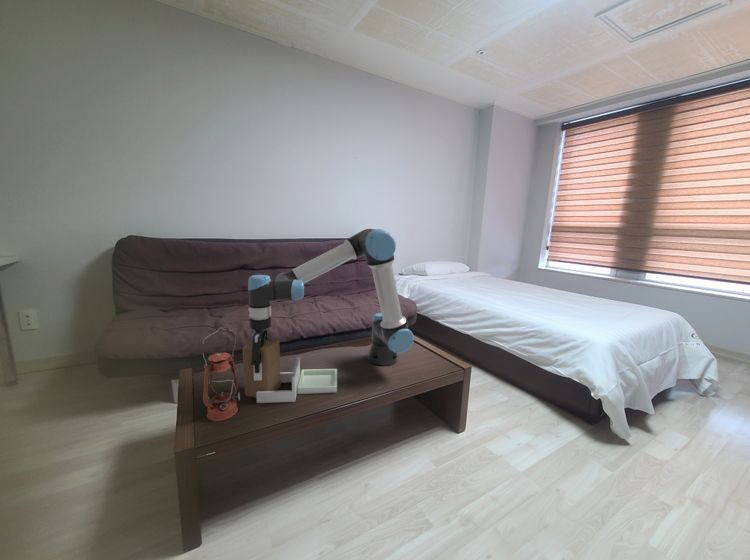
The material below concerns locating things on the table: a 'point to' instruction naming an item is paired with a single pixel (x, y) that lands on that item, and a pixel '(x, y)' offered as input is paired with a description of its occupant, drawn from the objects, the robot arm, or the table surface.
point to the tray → (317, 381)
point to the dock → (283, 395)
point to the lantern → (222, 402)
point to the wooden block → (269, 368)
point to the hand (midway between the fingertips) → (262, 371)
